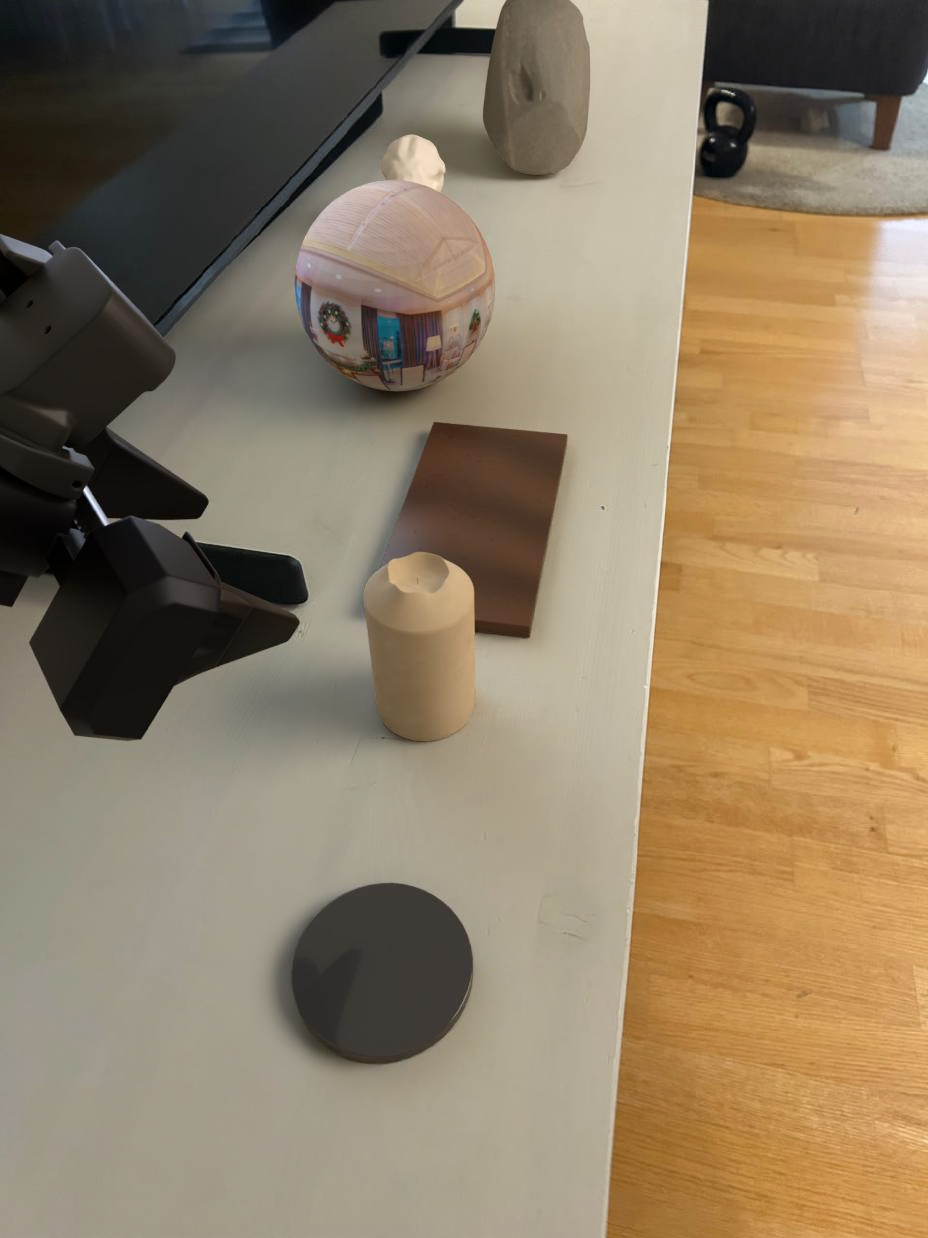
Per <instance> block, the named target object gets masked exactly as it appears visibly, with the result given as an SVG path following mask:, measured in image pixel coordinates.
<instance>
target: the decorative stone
mask: <svg viewBox="0 0 928 1238" xmlns="http://www.w3.org/2000/svg"><path fill="white" fill-rule="evenodd" d="M492 40H493V41H492V45H491V50H490V55H489V60H488V67H487V74H486V81H485V88H484V97H483V104H482V105H483V106H482V121H483V125H484V129H485V131H486V135H487V136H488V137H489V140H490V142H491V143H492V145H493V147H494V148H495V150H496V151H497V153H498V155H499V156H500V157H501V159H502V160H503V161H504V163H506V164H507V165H508V167H510V168H511V169H512V170H514V171H516V172H519V173H521V174H525V175H532V176H542V175H550V174H554V173H557V172H561V171H562V170H565V169H566V168H567V167H569V165H570V164H571V163H572V162H573V161H574V159H575V158H576V156H577V155H578V153H579V152H580V150H581V148H582V146H583V143H584V141H585V138H586V135H587V130H588V123H589V122H588V121H589V110H590V109H589V108H590V95H591V55H590V54H591V49H590V44H589V41H588V38H587V33H586V29H585V23H584V16H583V14H582V12H581V11H580V9H579V8H578V6H577V5H576V4H575V3H574V2H573V1H571V0H505V1H504V3H503V5H502V7H501V8H500V12H499V15H498V20H497V23H496V27H495V32H494V35H493V39H492Z"/></svg>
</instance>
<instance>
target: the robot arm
mask: <svg viewBox="0 0 928 1238" xmlns="http://www.w3.org/2000/svg"><path fill="white" fill-rule="evenodd" d="M48 250H49V251H50V252H48V251H47V250H45V249H43V248H40V247H38V246H35V245H33V244H29V243H27V242H24V241H21V240H18V239H16V238H12V237H10V236H7V235H4V234H2V233H0V606H3V607H8V608H13V606H14V605H15V603H16V601H17V600H18V597H19V595H20V593H21V591H22V590H23V588H24V586H25V584H26V582H27V580H28V578H34V579H38V578H40V577H41V576H43V574H44V573H45V572H47V570H48V569H50V571H51V572H52V574H53V577H54V578H55V580H56V582H57V584H58V586H59V587H58V589H57V591H56V593H55V595H54V596H53V598H52V600H51V602H50V604H49V605H48V607H47V609H46V611H45V613H44V614H43V616H42V618H41V620H40V622H39V623H38V625H37V627H36V629H35V631H34V633H32V636H31V638H30V640H29V641H28V644H29V646H30V649H31V651H32V653H33V655H34V657H35V659H36V661H37V664H38V666H39V668H40V670H41V673H42V675H43V676H44V677H43V678H44V679H45V681H46V683H47V685H48V688H49V689H50V691H51V694H52V696H53V698H54V700H55V703H56V705H57V708H58V709H59V711H60V713H61V715H62V716H63V719H64V720H65V722H66V723H67V726H68V727H69V729H70V731H71V732H72V734H73V736H74V737H82V738H83V737H84V738H93V739H104V740H114V741H123V742H124V741H125V742H131V741H139V740H142V739H143V738H144V736H145V734H146V733H147V731H148V730H149V728H150V726H151V725H152V723H153V721H154V720H155V718H156V716H157V715H158V713H159V712H160V710H161V708H162V707H163V705H164V704H165V702H166V700H167V699H168V697H169V695H170V694H171V692H172V691H173V689H174V687H176V686H178V685H180V684H181V683H184V682H186V681H188V680H190V679H192V678H194V677H196V676H198V675H200V674H203V673H206V672H208V671H211V670H214V669H216V668H219V667H221V666H224V665H227V664H230V663H233V662H235V661H239V660H241V659H243V658H246V657H249V656H252V655H254V654H255V655H256V654H258V653H260V652H263V651H266V650H268V649H269V650H270V649H271V648H274V647H277V646H280V645H282V644H285V643H287V642H289V641H290V639H291V638H292V637H293V636H294V634H295V632H296V631H297V629H298V627H299V626H300V624H301V621H300V619H299V618H298V616H297V615H296V614H295V613H293V612H290V611H289V610H286V609H285V608H282V607H281V606H278V605H277V604H275V603H273V602H270V601H268V600H265V599H263V598H261V597H259V596H255V595H254V594H251V593H249V592H246V591H245V590H241V589H239V588H237V587H234V586H232V585H229V584H227V583H225V582H223V581H222V580H221V578H220V576H219V574H218V571H217V570H216V568H215V567H214V566H213V565H212V563H211V562H210V560H209V559H208V558H207V556H206V554H205V553H204V552H203V550H202V549H201V547H200V546H199V544H198V543H197V542H196V540H195V539H194V537H193V536H192V535H191V534H190V532H189V531H187V530H186V531H185V532H184V533H183V535H182V536H181V537H180V536H179V535H177V534H176V533H174V532H173V531H171V530H170V529H168V528H166V527H165V526H163V525H162V524H160V523H158V522H154V521H186V520H187V521H188V520H198V519H200V518H201V517H202V516H203V514H204V513H205V511H206V509H207V507H208V505H209V503H210V500H209V498H208V497H207V496H206V494H205V493H204V492H202V491H201V490H199V489H197V488H196V487H195V486H193V485H191V484H190V483H188V482H187V481H186V480H184V479H183V478H181V476H179V475H177V474H175V473H174V472H172V471H171V470H170V469H168V468H166V467H165V466H163V465H162V464H161V463H159V462H158V461H156V460H155V459H153V458H152V457H151V456H149V455H148V454H146V453H144V452H143V451H141V450H140V449H138V447H136V446H134V445H133V444H132V443H130V442H129V441H127V440H126V439H125V438H123V437H122V436H120V435H119V434H117V433H116V432H114V430H112V429H110V428H109V427H108V426H109V425H110V424H111V423H112V422H113V421H114V420H116V419H117V417H119V416H120V415H121V414H122V413H123V412H124V411H125V410H127V408H129V406H130V405H132V404H133V403H134V402H135V401H137V399H139V397H141V396H142V395H143V394H144V393H146V392H153V391H156V390H157V388H158V387H160V386H162V384H163V383H164V382H165V381H166V380H167V379H168V377H169V376H170V375H171V373H172V371H173V370H174V369H175V368H174V367H175V364H176V360H177V355H176V351H175V349H174V348H173V346H172V345H171V344H170V343H169V342H168V341H167V340H166V339H165V338H164V337H163V335H162V334H161V333H160V332H159V331H158V330H157V328H156V327H155V326H154V325H153V324H152V323H151V322H150V320H149V319H148V318H147V316H146V315H145V314H144V313H143V312H142V311H141V310H140V309H139V308H138V307H137V306H136V305H135V304H134V303H133V302H132V301H131V300H130V298H129V297H127V296H126V295H125V294H124V292H123V291H122V290H120V289H119V287H117V285H116V284H115V283H114V282H113V281H112V280H111V279H110V278H109V277H108V276H107V275H106V274H105V273H104V271H102V269H100V267H98V266H97V264H96V263H95V262H93V260H92V259H91V258H90V257H89V256H88V255H87V254H86V253H85V252H84V251H83V250H82V249H81V248H79V247H75V246H71V247H64V245H63V244H61V242H60V241H58V240H55V241H54V242H52V243H51V245H49V246H48ZM51 253H52V254H51ZM109 519H112V520H113V519H115V520H116V519H117V520H116V521H113V522H110V521H109Z"/></svg>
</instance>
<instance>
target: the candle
mask: <svg viewBox="0 0 928 1238" xmlns="http://www.w3.org/2000/svg"><path fill="white" fill-rule="evenodd" d="M362 597H363V598H362V599H363V607H364V616H365V625H366V631H367V632H366V633H367V638H368V639H367V640H368V648H369V656H370V663H371V672H372V679H373V689H374V695H375V703H376V709H377V712H378V714H379V717H380V719H381V721H382V723H383V724H384V726H386V727H387V729H388V730H390V732H393V733H394V734H395V735H398V736H399V737H402V738H404V739H408V740H411V741H417V742H432V741H438V740H441V739H445V738H447V737H449V736H452V735H454V734H455V733H457V732H458V731H460V730H461V729H462V728H463V727H465V725H466V724H467V723H468V722H469V719H471V716H472V714H473V712H474V709H475V704H476V637H475V635H476V634H475V632H476V631H475V622H474V587H473V584H472V581H471V579H470V578H469V576H468V575H467V574H466V573H465V572H464V571H463V570H462V569H461V568H460V567H458V566H457V565H455V564H453V563H451V562H449V561H447V560H445V559H443V558H442V557H440V556H438V555H434V554H430V553H426V552H415V553H412V554H411V555H408V556H405V557H402V558H399V559H392V560H391V561H390V562H389V563H388V564H386V565H385V566H383V567H382V568H380V567H379V569H377V570H376V571H375V572H373V574H372V575H371V576H370V577H369V579H368V580H367V582H366V584H365V586H364V589H363V595H362Z"/></svg>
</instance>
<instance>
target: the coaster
mask: <svg viewBox="0 0 928 1238" xmlns="http://www.w3.org/2000/svg"><path fill="white" fill-rule="evenodd" d="M291 964H292V965H291V971H290V973H291V975H290V976H291V980H290V981H291V988H292V995H293V998H294V1001H295V1004H296V1005H295V1006H296V1008H297V1011H298V1013H299V1015H300V1018H301V1019H302V1021H303V1022H302V1023H304V1025H305V1027H306V1028H307V1030H308V1031H309V1033H311V1035H312V1036H313V1037H314V1038H315V1039H316V1040H317V1042H319V1043H320V1044H322V1045H323V1046H324V1047H325V1048H327V1049H328V1050H329V1051H331V1052H333V1053H335V1054H336V1055H339V1056H340V1057H343V1058H345V1059H348V1060H351V1061H356V1062H359V1063H364V1064H365V1063H367V1064H389V1063H396V1062H400V1061H404V1060H407V1059H410V1058H413V1057H415V1056H418V1055H419V1054H422V1053H423V1052H425V1051H427V1050H428V1049H430V1048H432V1047H433V1046H435V1045H436V1044H438V1043H439V1042H440V1041H441V1040H442V1039H443V1038H445V1036H446V1035H448V1033H449V1032H450V1031H451V1030H452V1029H453V1028H454V1027H455V1025H456V1024H457V1022H458V1021H459V1020H460V1018H461V1016H462V1014H463V1013H464V1011H465V1009H466V1007H467V1004H468V1001H469V999H470V995H471V993H472V988H473V980H474V956H473V948H472V944H471V941H470V938H469V935H468V932H467V931H466V928H465V926H464V924H463V922H462V921H461V919H460V918H459V917H458V915H457V914H456V912H454V911H453V908H451V907H450V906H449V905H447V903H445V902H444V901H443V900H442V899H440V898H438V897H437V896H436V895H435V894H432V893H430V892H429V891H427V890H425V889H422V888H419V887H417V886H414V885H409V884H405V883H398V882H377V883H370V884H366V885H362V886H358V887H356V888H353V889H351V890H348V891H346V892H344V893H342V894H340V895H338V896H337V897H335V898H334V899H333V900H331V901H329V902H328V903H326V905H324V906H323V907H322V908H320V910H319V911H318V912H317V913H316V914H315V915H314V916H313V917H312V918H311V920H310V921H309V923H307V925H306V927H305V928H304V930H303V932H302V933H301V936H300V937H299V939H298V942H297V944H296V947H295V950H294V954H293V957H292V963H291Z"/></svg>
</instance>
